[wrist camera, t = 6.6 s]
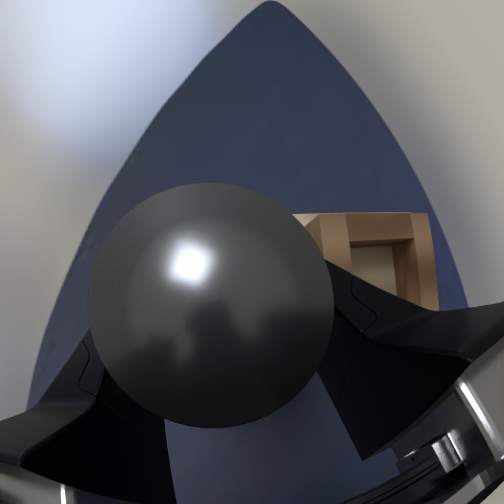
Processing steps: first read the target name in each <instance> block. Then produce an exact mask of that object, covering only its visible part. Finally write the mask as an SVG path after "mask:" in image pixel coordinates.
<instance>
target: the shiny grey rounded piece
mask: <svg viewBox="0 0 504 504" xmlns="http://www.w3.org/2000/svg"><path fill="white" fill-rule="evenodd" d="M88 318H89V324H90V330H91V334H92V338H93V341H94V344H95V347H96V349H97V352H98V354H99V356H100V358H101V361H102V362H103V364H104V366H105V367H106V369H107V371H108V372H109V374H110V375H111V377H112V378H113V379H114V380H115V382H116V383H117V384H118V385H119V387H120V388H121V389H122V390H123V391H124V392H125V393H126V394H128V395H129V396H130V397H131V398H132V399H133V400H134V401H136V402H137V403H138V404H140V405H141V406H142V407H144V408H145V409H147V410H149V411H151V412H152V413H154V414H156V415H158V416H160V417H162V418H165V419H167V420H170V421H172V422H175V423H179V424H183V425H187V426H192V427H200V428H226V427H233V426H239V425H243V424H246V423H250V422H253V421H256V420H258V419H261V418H263V417H265V416H267V415H269V414H271V413H273V412H275V411H276V410H278V409H279V408H281V407H283V406H284V405H285V404H287V403H288V402H289V401H290V400H291V399H293V398H294V397H295V396H296V395H297V394H298V393H299V392H300V391H301V390H302V389H303V388H304V387H305V386H306V385H307V383H308V382H309V380H310V379H311V378H312V376H313V375H314V374H315V372H316V370H317V369H318V367H319V365H320V363H321V361H322V359H323V357H324V355H325V352H326V349H327V347H328V344H329V341H330V336H331V332H332V327H333V318H334V295H333V289H332V283H331V278H330V274H329V271H328V268H327V265H326V262H325V260H324V258H323V256H322V253H321V251H320V249H319V247H318V246H317V244H316V243H315V241H314V239H313V238H312V236H311V235H310V233H309V232H308V231H307V230H306V229H305V227H304V226H303V225H302V224H301V223H300V221H299V220H297V219H296V218H295V217H294V216H293V215H292V214H291V213H290V212H289V211H288V210H286V209H285V208H283V207H282V206H281V205H279V204H278V203H276V202H275V201H273V200H271V199H270V198H268V197H266V196H264V195H262V194H260V193H257V192H255V191H252V190H249V189H247V188H244V187H239V186H235V185H231V184H223V183H194V184H188V185H182V186H178V187H175V188H171V189H168V190H165V191H163V192H161V193H158V194H156V195H154V196H152V197H150V198H148V199H147V200H145V201H144V202H142V203H140V204H139V205H137V206H136V207H135V208H134V209H132V210H131V211H130V212H129V213H128V214H126V215H125V216H124V217H123V218H122V219H121V221H120V222H119V223H118V224H117V225H116V226H115V227H114V228H113V230H112V231H111V233H110V234H109V235H108V237H107V238H106V240H105V242H104V243H103V245H102V247H101V249H100V251H99V253H98V255H97V258H96V261H95V263H94V266H93V269H92V273H91V277H90V282H89V289H88Z"/></svg>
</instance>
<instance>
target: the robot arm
mask: <svg viewBox="0 0 504 504" xmlns="http://www.w3.org/2000/svg"><path fill="white" fill-rule="evenodd" d="M324 260H325V262H326V265H327V268H328V271H329V274H330V278H331V283H332V289H333V295H334V318H333V327H332V332H331V336H330V341H329V344H328V347H327V349H326V352H325V355H324V357H323V359H322V361H321V363H320V365H319V367H318V369H317V372H318V374H319V376H320V378H321V380H322V382H323V384H324V386H325V388H326V390H327V392H328V394H329V396H330V398H331V400H332V402H333V404H334V406H335V408H336V410H337V412H338V414H339V416H340V418H341V420H342V422H343V424H344V426H345V428H346V430H347V432H348V434H349V436H350V438H351V440H352V442H353V444H354V446H355V448H356V450H357V452H358V454H359V456H360V457H361V459H362V461H364V460H367V459H369V458H371V457H373V456H375V455H377V454H379V453H381V452H383V451H385V450H387V449H389V448H390V447H392V449H393V451H394V453H395V455H396V457H397V459H398V462H397V463H396V465H397V467H398V470H399V472H400V475H398V476H396V477H394V478H392V479H391V480H389V481H387V482H385V483H383V484H381V485H379V486H377V487H375V488H373V489H371V490H369V491H367V492H365V493H362V494H360V495H358V496H356V497H353V498H351V499H349V500H346V501H344V502H341V503H339V504H480V503H481V502H482V501H483V500H485V499H486V498H487V497H488V496H489V495H490V494H491V493H492V492H493V491H494V490H495V489H496V488H497V487H498V486H499V485H500V484H501V483H502V482H503V481H504V302H500V303H496V304H491V305H484V306H478V307H471V308H464V309H457V310H449V311H434V310H429V309H426V308H423V307H421V306H419V305H416V304H414V303H412V302H410V301H407V300H405V299H403V298H401V297H398V296H396V295H394V294H391V293H389V292H387V291H385V290H383V289H381V288H378V287H376V286H374V285H372V284H370V283H369V282H367V281H365V280H363V279H361V278H359V277H357V276H355V275H352V274H351V273H350V272H348V271H346V270H344V269H342V268H341V267H339V266H337V265H335V264H333V263H331V262H329V261H328V260H326V259H324ZM82 339H83V340H81V341H80V343H79V344H78V346H77V347H76V349H75V350H74V352H73V353H72V355H71V356H70V358H69V359H68V361H67V362H66V364H65V365H64V367H63V368H62V369H61V371H60V372H59V374H58V375H57V376H56V378H55V379H54V380H53V382H52V383H51V385H50V386H49V387H48V389H47V390H46V392H45V393H44V395H43V396H42V397H41V399H40V400H39V401H38V403H37V404H36V405H35V406H34V407H32V408H31V409H29V410H28V411H26V412H24V413H21V414H19V415H16V416H13V417H10V418H7V419H4V420H2V421H0V504H177V502H176V497H175V491H174V486H173V480H172V474H171V468H170V462H169V455H168V448H167V441H166V432H165V423H164V418H162V417H160V416H158V415H156V414H154V413H152V412H151V411H149V410H147V409H145V408H144V407H142V406H141V405H140V404H138V403H137V402H136V401H134V400H133V399H132V398H131V397H130V396H129V395H128V394H126V393H125V392H124V391H123V390H122V389H121V388H120V387H119V385H118V384H117V383H116V382H115V380H114V379H113V378H112V377H111V375H110V374H109V372H108V371H107V369H106V367H105V366H104V364H103V362H102V361H101V358H100V356H99V354H98V352H97V349H96V347H95V344H94V341H93V338H92V334H91V330H90V328H89V329H88V331H87V332H86V334H85V335H84V337H83V338H82Z"/></svg>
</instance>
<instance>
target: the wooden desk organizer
mask: <svg viewBox="0 0 504 504" xmlns="http://www.w3.org/2000/svg"><path fill="white" fill-rule="evenodd" d="M292 215H293V216H294V217H295V218H296V219H297V220H299V221H300V223H301V224H302V225H303V226H304V227H305V229H306V230H307V231H308V232H309V233H310V235H311V236H312V238H313V239H314V241H315V243H316V244H317V246H318V247H319V249H320V251H321V253H322V256H323V258H324V259H326V260H328V261H329V262H331V263H333V264H335V265H337V266H339V267H341V268H342V269H344V270H346V271H348V272H350V273H351V274H352V275H355V276H357V277H359V278H361V279H363V280H365V281H367V282H369V283H370V284H372V285H374V286H376V287H378V288H381V289H383V290H385V291H387V292H389V293H391V294H394V295H396V296H398V297H401V298H403V299H405V300H407V301H410V302H412V303H414V304H416V305H419V306H421V307H423V308H426V309H429V310H434V311H439V302H438V287H437V276H436V266H435V258H434V250H433V243H432V237H431V230H430V225H429V219H428V214H427V213H411V212H380V213H320V214H292Z"/></svg>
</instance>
